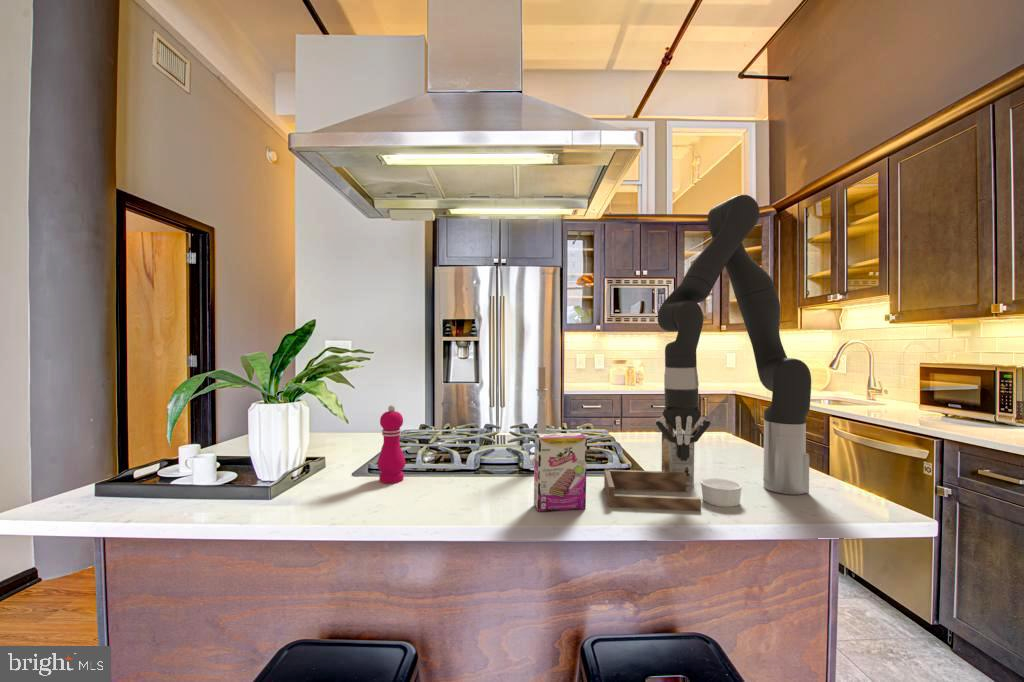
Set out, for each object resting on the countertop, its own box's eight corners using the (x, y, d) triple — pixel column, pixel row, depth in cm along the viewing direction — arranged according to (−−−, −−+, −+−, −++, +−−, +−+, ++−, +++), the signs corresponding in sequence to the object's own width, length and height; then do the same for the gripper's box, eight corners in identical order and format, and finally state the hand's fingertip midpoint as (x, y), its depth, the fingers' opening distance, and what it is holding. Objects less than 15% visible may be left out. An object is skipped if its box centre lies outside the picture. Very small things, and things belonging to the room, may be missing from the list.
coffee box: (660, 474, 134) (660, 417, 134) (683, 475, 134) (684, 417, 134) (670, 485, 125) (671, 423, 125) (695, 485, 125) (695, 423, 125)
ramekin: (692, 497, 116) (692, 479, 116) (724, 494, 118) (724, 476, 118) (717, 510, 107) (717, 490, 107) (750, 506, 110) (750, 487, 109)
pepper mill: (411, 478, 130) (411, 404, 129) (391, 485, 124) (391, 408, 123) (392, 474, 133) (392, 402, 133) (371, 481, 127) (371, 405, 127)
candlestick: (524, 459, 150) (524, 363, 150) (565, 461, 148) (565, 364, 148) (516, 470, 138) (516, 366, 138) (561, 473, 135) (561, 366, 135)
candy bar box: (538, 513, 105) (538, 437, 105) (533, 505, 110) (533, 433, 110) (587, 510, 107) (587, 436, 107) (580, 502, 112) (580, 431, 112)
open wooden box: (685, 490, 121) (685, 472, 121) (700, 510, 107) (701, 490, 106) (604, 486, 123) (604, 469, 123) (608, 506, 109) (609, 486, 109)
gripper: (705, 384, 116) (706, 456, 117) (649, 385, 118) (650, 455, 118) (715, 387, 109) (716, 464, 109) (655, 388, 110) (657, 464, 110)
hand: (682, 459), depth 113 cm, fingers closed
